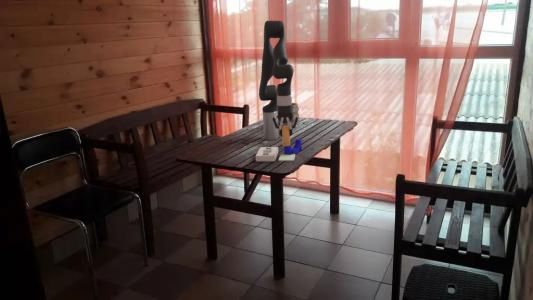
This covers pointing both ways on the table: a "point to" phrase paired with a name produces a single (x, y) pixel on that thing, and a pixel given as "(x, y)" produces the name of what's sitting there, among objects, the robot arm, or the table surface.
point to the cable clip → (293, 150)
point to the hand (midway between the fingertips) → (286, 135)
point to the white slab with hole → (267, 154)
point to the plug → (286, 136)
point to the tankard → (294, 112)
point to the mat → (286, 157)
